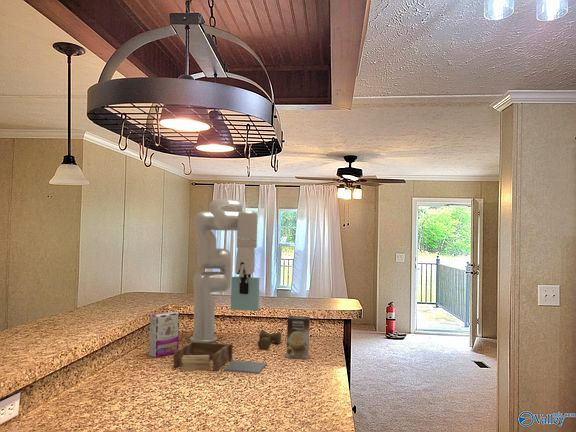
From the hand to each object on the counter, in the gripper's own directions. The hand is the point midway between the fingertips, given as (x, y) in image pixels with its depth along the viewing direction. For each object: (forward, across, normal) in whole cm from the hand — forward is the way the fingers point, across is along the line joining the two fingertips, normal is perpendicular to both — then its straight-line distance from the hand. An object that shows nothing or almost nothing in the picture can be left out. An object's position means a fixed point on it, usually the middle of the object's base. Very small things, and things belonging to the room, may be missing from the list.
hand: (245, 292), depth 171 cm
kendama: (+28, -38, 0) cm, 47 cm away
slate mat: (+28, 0, +1) cm, 28 cm away
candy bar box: (+28, -9, -36) cm, 46 cm away
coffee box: (+28, -21, +17) cm, 39 cm away
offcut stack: (+28, +6, -16) cm, 33 cm away
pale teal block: (+6, 0, 0) cm, 6 cm away
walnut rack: (+27, 0, -16) cm, 32 cm away
